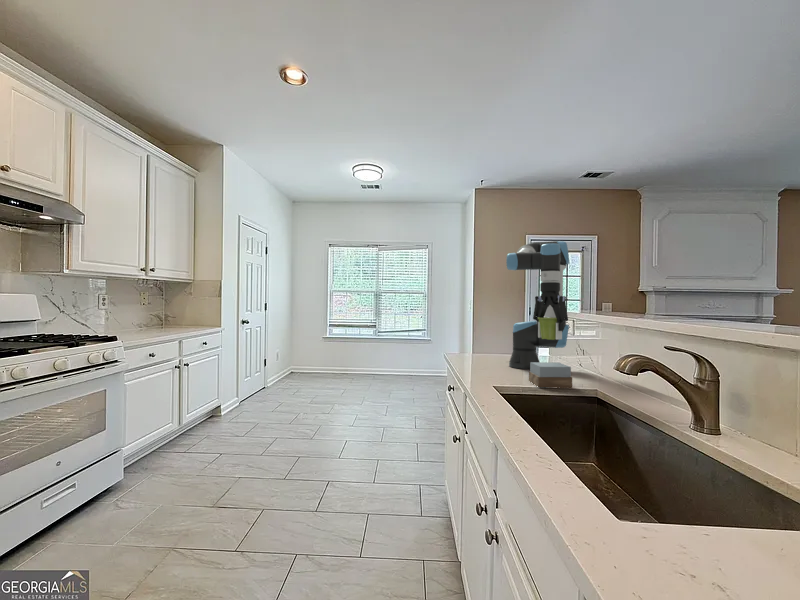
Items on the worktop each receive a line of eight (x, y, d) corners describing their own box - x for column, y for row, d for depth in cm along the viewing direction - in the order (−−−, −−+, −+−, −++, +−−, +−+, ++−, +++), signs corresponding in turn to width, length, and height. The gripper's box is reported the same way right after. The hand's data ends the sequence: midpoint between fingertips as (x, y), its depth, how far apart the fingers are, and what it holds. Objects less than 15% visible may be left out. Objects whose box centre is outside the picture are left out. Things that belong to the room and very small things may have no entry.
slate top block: (530, 371, 173) (530, 362, 173) (558, 372, 173) (558, 362, 173) (539, 377, 161) (540, 366, 161) (570, 377, 161) (570, 367, 161)
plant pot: (558, 338, 171) (558, 317, 171) (565, 340, 162) (565, 318, 162) (535, 338, 172) (535, 317, 172) (540, 340, 163) (540, 317, 163)
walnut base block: (528, 382, 174) (528, 371, 174) (560, 382, 173) (560, 371, 173) (538, 388, 161) (538, 377, 161) (572, 389, 160) (572, 377, 160)
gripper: (524, 282, 175) (523, 336, 175) (565, 280, 156) (564, 341, 156) (536, 283, 178) (536, 336, 178) (578, 281, 160) (578, 340, 160)
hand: (549, 338), depth 167 cm, fingers closed on plant pot, 8 cm apart
